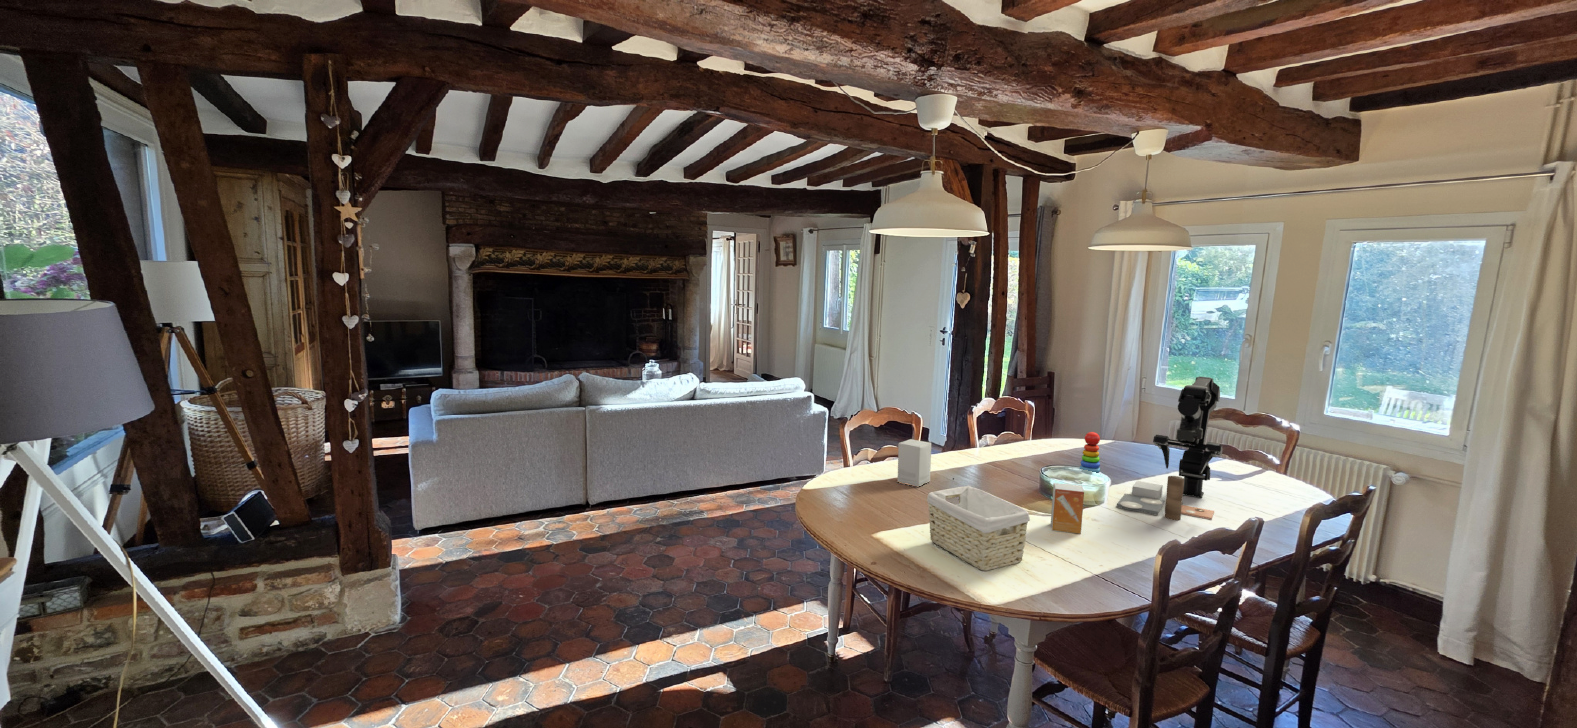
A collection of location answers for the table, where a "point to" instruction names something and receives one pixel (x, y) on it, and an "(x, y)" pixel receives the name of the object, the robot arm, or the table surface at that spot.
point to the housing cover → (1147, 490)
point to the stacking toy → (1091, 453)
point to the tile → (1197, 512)
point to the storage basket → (978, 527)
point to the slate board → (1140, 504)
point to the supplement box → (914, 462)
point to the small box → (1067, 508)
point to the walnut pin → (1174, 497)
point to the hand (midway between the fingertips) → (1183, 470)
